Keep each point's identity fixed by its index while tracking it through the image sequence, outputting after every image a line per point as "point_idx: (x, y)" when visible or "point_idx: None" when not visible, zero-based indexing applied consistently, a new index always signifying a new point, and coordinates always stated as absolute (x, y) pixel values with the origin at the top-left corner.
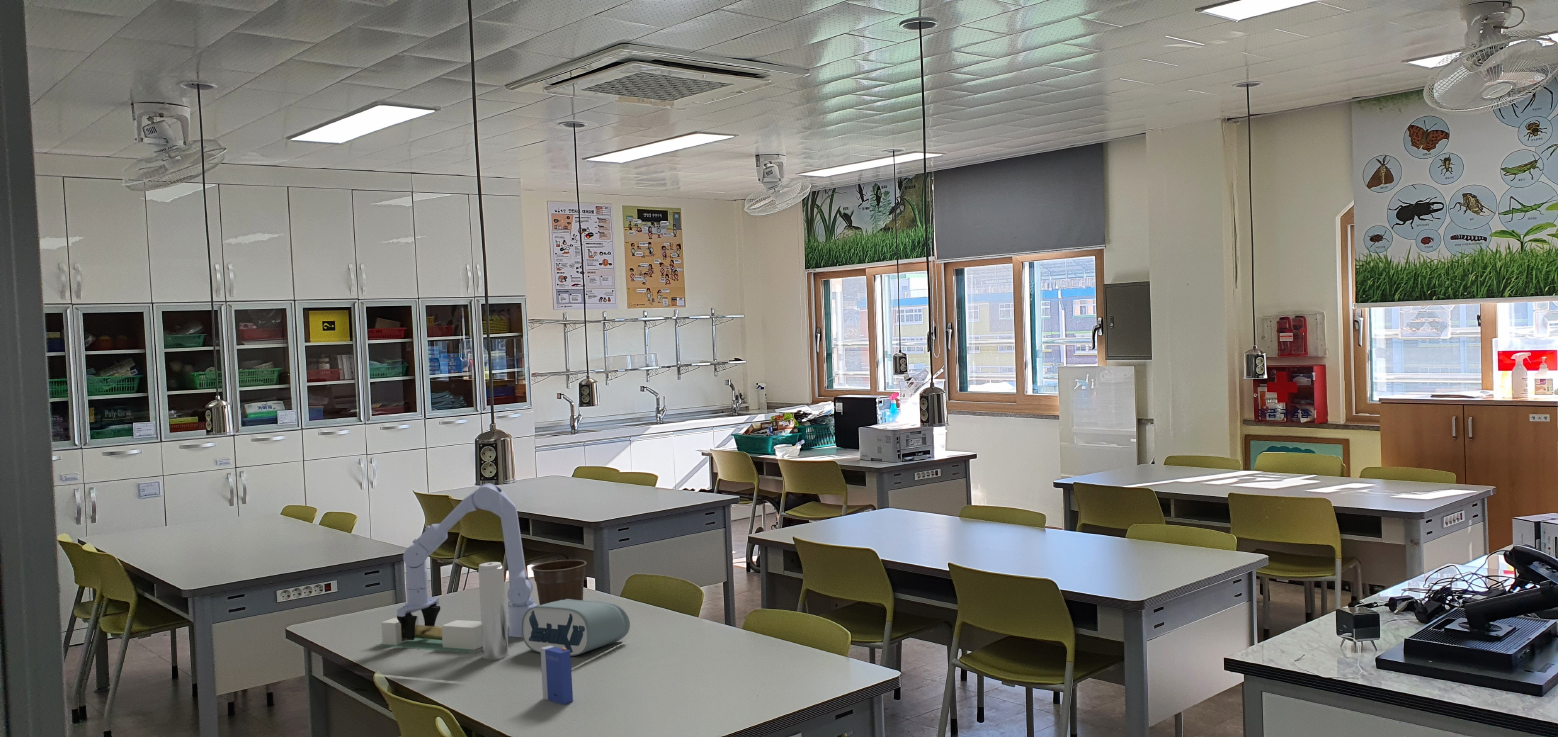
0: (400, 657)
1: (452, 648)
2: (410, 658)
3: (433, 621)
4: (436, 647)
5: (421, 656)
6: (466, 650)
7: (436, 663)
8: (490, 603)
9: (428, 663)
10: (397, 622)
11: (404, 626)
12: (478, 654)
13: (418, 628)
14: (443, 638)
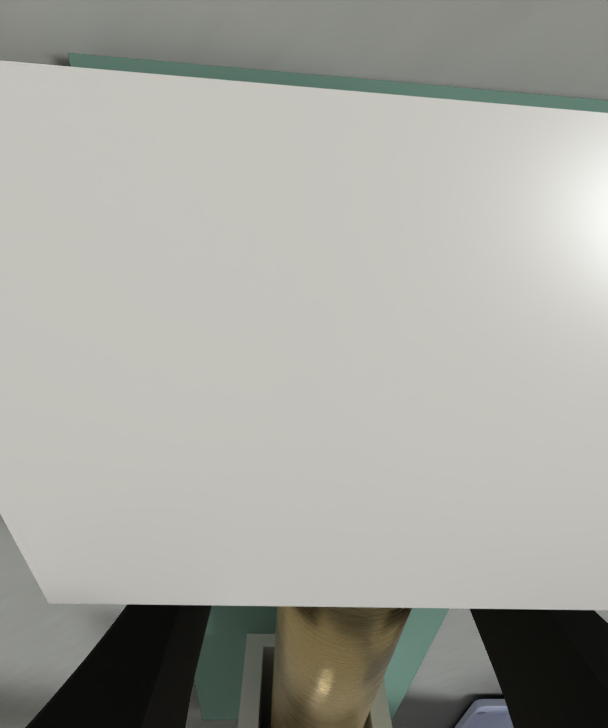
0: (3, 534)
1: (238, 667)
2: (28, 585)
3: (501, 683)
4: (230, 615)
5: (91, 606)
6: (227, 707)
7: (48, 686)
8: None
9: (27, 669)
10: (127, 598)
11: (121, 656)
12: (221, 721)
13: (298, 627)
14: (240, 702)
